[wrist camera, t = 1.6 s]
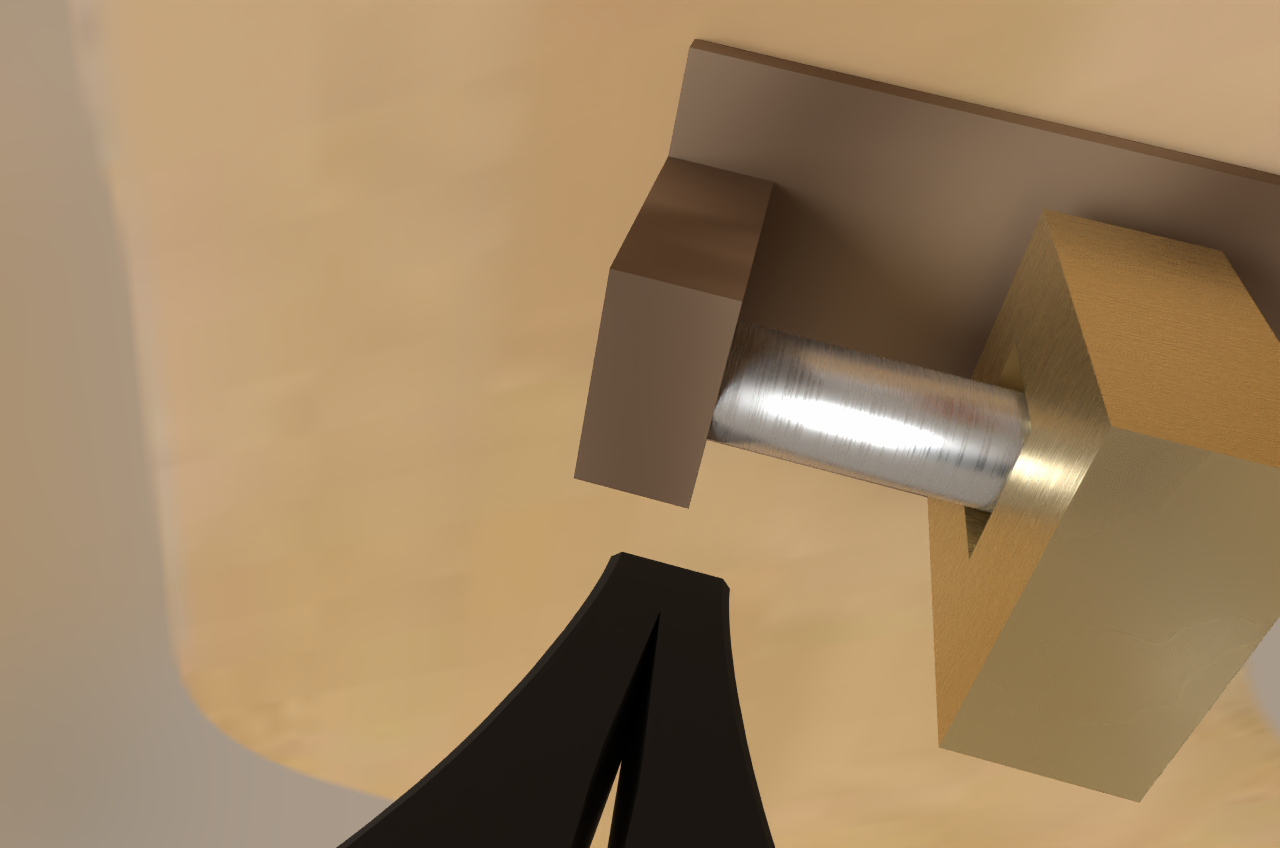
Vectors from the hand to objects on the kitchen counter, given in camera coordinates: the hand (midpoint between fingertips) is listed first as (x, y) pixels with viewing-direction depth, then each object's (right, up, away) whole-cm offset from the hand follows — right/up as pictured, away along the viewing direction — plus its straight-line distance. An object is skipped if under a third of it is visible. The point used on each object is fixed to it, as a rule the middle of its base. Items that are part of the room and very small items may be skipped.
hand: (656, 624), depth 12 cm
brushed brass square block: (+8, +3, +7) cm, 11 cm away
